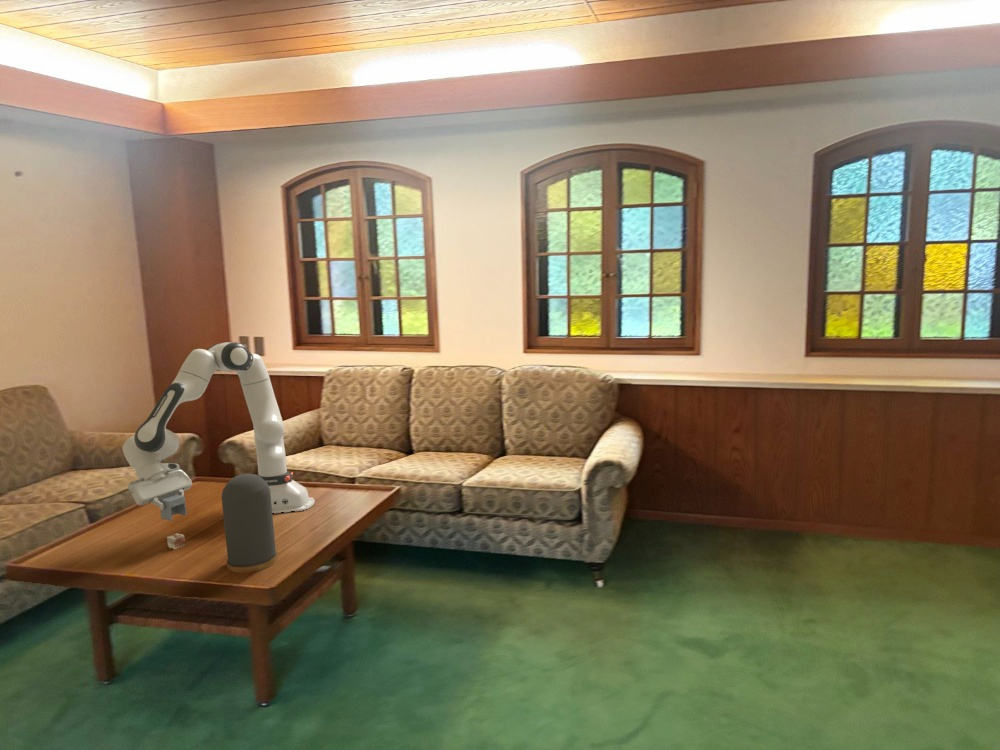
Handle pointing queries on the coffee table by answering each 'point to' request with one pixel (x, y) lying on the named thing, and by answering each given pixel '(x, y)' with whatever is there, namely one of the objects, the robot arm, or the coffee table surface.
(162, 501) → the slate cover
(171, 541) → the letter cube
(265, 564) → the decorative piece
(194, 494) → the coffee table surface
